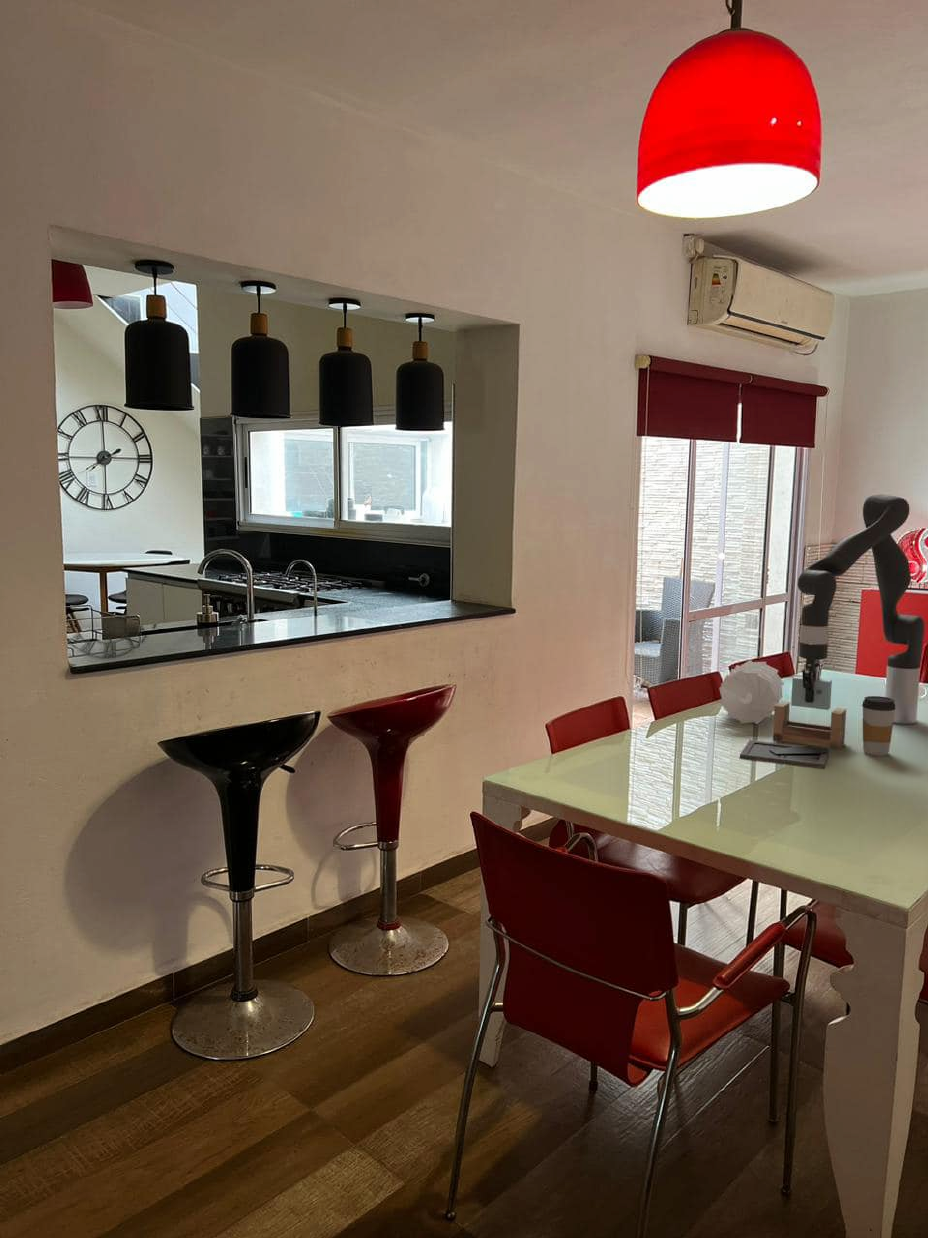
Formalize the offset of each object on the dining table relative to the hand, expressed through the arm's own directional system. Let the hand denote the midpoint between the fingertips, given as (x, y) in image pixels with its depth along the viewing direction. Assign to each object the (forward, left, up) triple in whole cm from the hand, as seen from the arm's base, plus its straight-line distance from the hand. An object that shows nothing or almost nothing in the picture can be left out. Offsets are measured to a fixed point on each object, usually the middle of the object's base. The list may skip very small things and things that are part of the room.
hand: (810, 700), depth 257 cm
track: (0, 0, -12) cm, 12 cm away
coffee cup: (+1, +18, -12) cm, 22 cm away
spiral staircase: (-19, -22, -12) cm, 32 cm away
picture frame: (+18, -2, -13) cm, 22 cm away
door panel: (0, 0, -2) cm, 2 cm away
